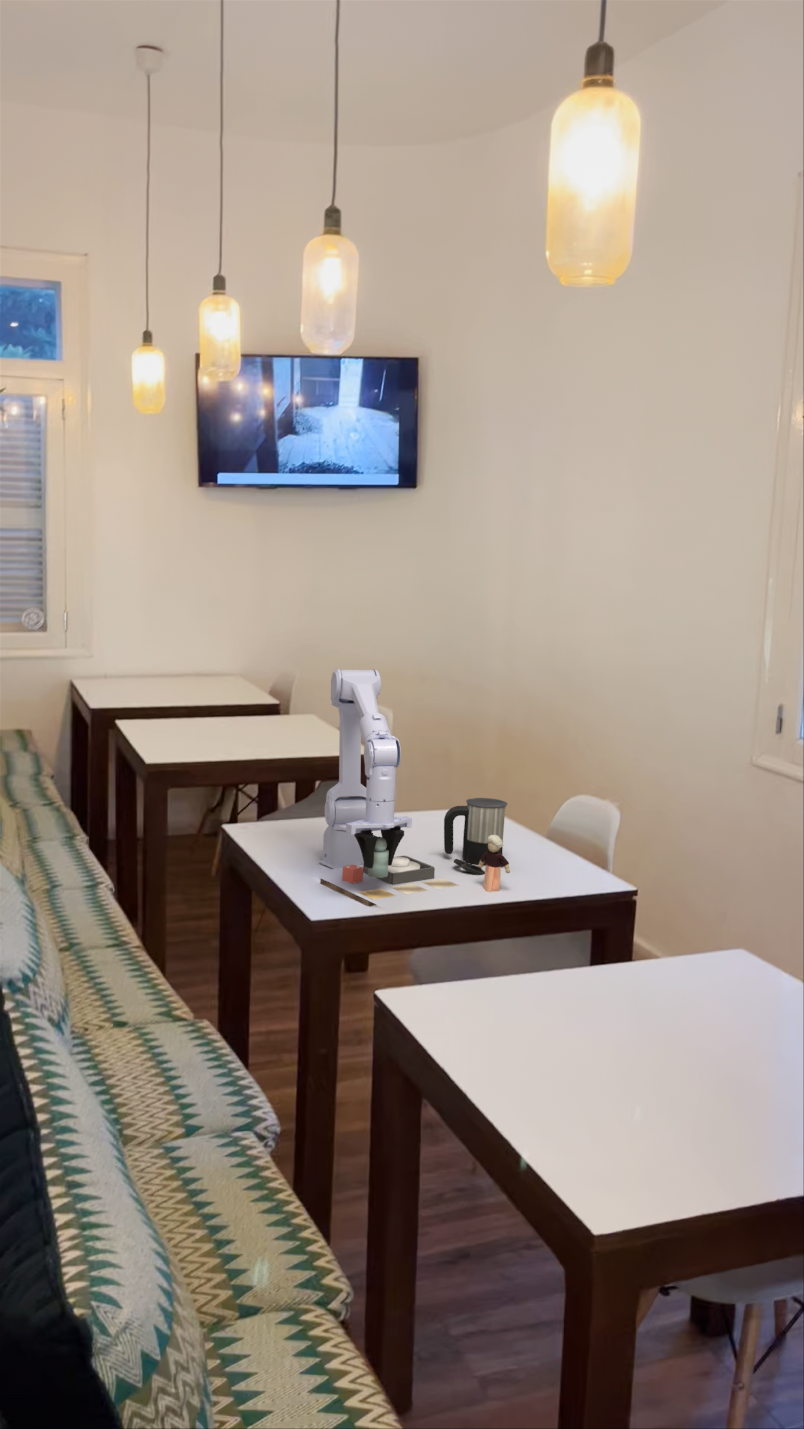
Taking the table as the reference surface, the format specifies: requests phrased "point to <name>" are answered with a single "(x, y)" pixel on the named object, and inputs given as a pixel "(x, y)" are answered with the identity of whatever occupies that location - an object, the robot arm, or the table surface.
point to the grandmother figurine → (493, 864)
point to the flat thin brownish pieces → (383, 894)
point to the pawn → (380, 860)
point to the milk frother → (475, 830)
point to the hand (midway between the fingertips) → (377, 865)
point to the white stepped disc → (402, 865)
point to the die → (352, 874)
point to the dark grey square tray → (408, 873)
